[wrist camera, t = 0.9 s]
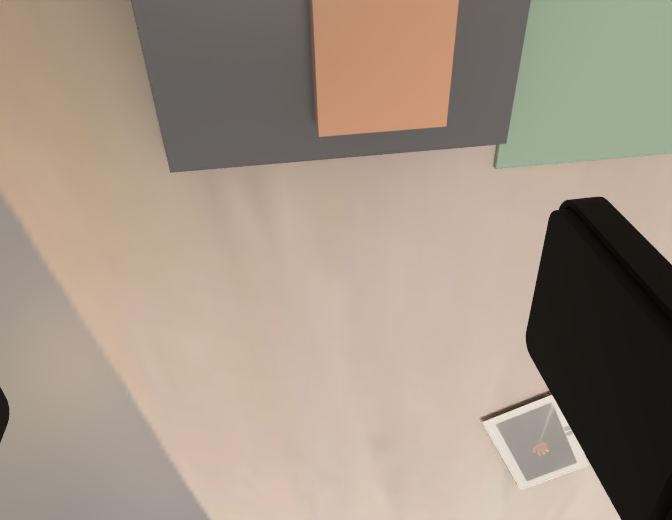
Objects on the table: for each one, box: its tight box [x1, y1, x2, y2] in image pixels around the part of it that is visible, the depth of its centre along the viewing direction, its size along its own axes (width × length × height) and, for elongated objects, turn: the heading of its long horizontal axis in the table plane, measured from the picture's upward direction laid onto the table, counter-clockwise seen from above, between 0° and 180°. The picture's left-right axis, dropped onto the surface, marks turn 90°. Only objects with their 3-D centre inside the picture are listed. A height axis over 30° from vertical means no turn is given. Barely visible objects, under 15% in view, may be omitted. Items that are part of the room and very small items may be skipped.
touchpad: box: [482, 395, 589, 490], centre depth 61 cm, size 8×15×2 cm, turn 26°
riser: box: [131, 0, 531, 173], centre depth 32 cm, size 12×20×2 cm, turn 92°
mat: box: [494, 0, 672, 169], centre depth 35 cm, size 18×15×1 cm
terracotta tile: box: [309, 0, 459, 137], centre depth 31 cm, size 7×7×2 cm
